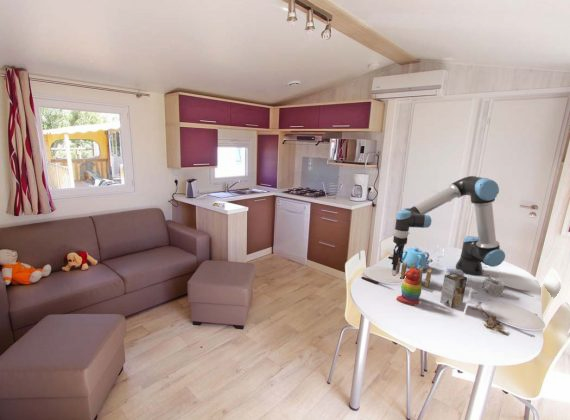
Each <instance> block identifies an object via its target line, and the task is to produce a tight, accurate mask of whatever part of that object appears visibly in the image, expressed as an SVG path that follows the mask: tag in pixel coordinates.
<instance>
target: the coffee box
mask: <svg viewBox="0 0 570 420" xmlns="http://www.w3.org/2000/svg"><path fill="white" fill-rule="evenodd" d="M467 281H468V277H467V276H465V275H464V276H462V275H460V274H457V273H453V274H449V275H446V274H445V275H444V277H443V283H442V290H441V295H440V300H439V302H440V303H441V304H442V305H444V306H446V307H447V308H450V309H453V308H456V307H459V306H463V302H464V296H465V291H466V286H467Z"/></svg>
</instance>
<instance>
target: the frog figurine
mask: <svg viewBox="0 0 570 420" xmlns="http://www.w3.org/2000/svg"><path fill="white" fill-rule="evenodd" d="M484 322H485V323H483V326H484V328H485V329H493V330H489V332H491V333H492V334H496V333H498V334H500V335H502V336H509V335H510V332H509V331H506V330H509V328H508V327H506V326H505V325H504V328H506V330H504V329H502V324H501V323H500V322H501V321H498V320H497V316H496V315H490V316H489V317H488V319H487V318H486V319H485V320H484Z"/></svg>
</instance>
